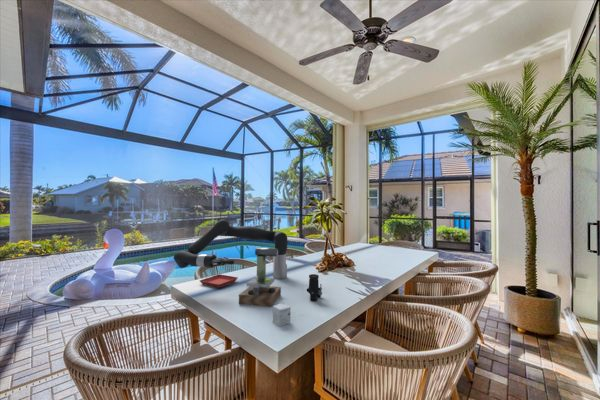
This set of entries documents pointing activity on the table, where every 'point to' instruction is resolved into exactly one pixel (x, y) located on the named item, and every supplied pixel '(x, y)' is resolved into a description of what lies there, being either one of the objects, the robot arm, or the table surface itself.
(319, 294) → the scope
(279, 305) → the skincare box
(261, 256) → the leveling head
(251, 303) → the wooden block with holes
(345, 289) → the table surface
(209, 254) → the robot arm
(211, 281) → the plant saucer
